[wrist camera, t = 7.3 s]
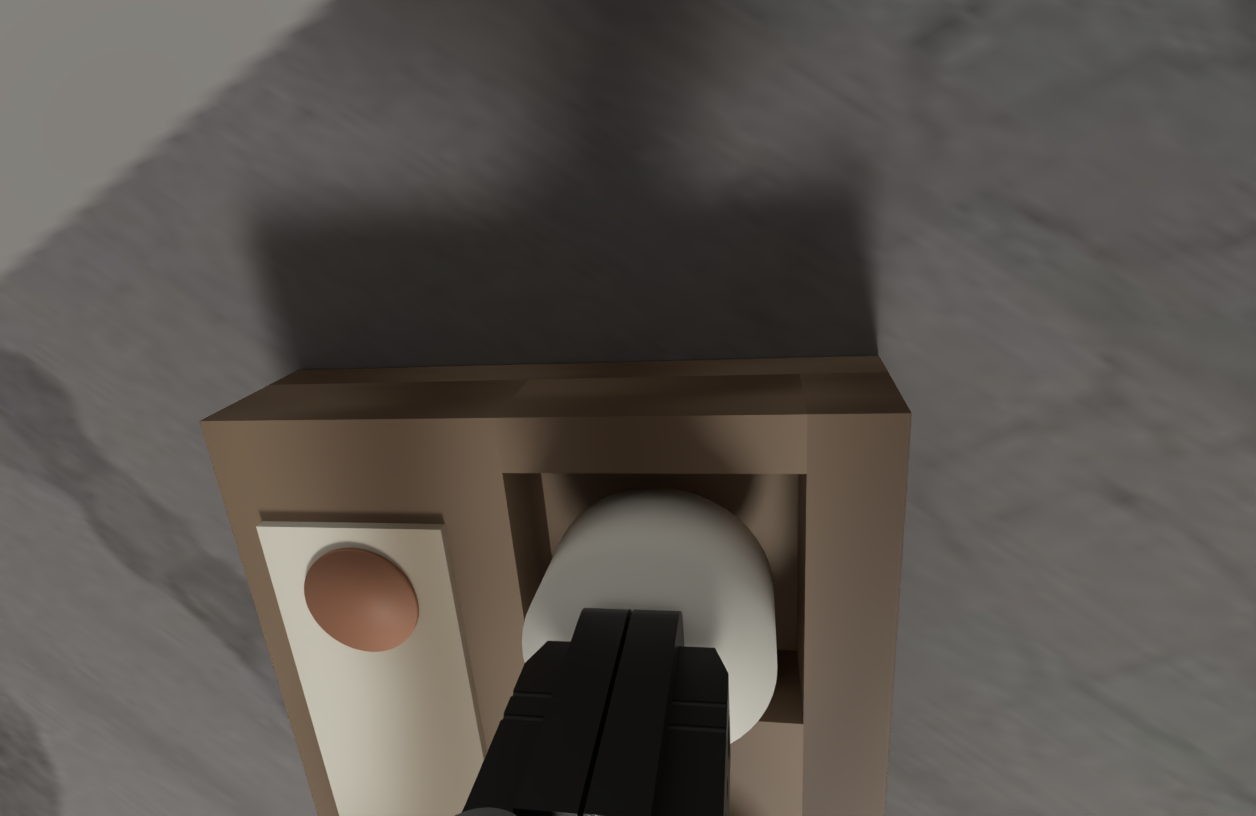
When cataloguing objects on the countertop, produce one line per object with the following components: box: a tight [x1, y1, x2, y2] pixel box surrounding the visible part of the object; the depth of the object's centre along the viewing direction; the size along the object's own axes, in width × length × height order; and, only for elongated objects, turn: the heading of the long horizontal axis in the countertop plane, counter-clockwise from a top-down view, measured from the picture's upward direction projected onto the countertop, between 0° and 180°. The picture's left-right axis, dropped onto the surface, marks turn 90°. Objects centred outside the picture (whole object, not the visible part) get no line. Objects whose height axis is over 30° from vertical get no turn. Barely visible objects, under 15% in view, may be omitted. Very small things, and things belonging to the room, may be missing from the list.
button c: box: [522, 487, 777, 744], centre depth 12 cm, size 4×4×2 cm
